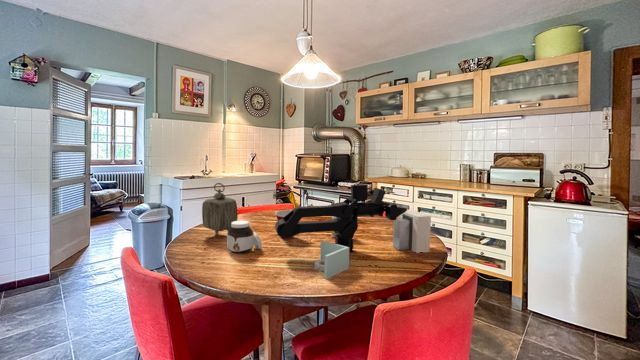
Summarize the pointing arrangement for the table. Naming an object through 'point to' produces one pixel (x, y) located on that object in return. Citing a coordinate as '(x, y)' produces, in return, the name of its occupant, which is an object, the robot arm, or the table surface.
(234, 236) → the spread jar
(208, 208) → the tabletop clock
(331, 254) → the l-shaped corner panel
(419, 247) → the housing
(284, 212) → the plastic cup
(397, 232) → the light grey rectangular block
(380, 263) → the table surface
